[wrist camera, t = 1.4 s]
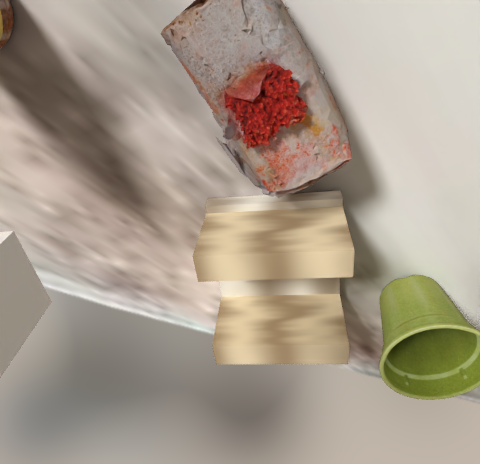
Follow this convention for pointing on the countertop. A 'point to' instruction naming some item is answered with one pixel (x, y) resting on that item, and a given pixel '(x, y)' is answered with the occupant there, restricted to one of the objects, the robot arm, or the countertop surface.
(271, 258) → the stand
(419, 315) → the plant pot
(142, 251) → the countertop surface
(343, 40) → the countertop surface
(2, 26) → the sauce bottle
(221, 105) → the food item
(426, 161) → the countertop surface
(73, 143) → the countertop surface
